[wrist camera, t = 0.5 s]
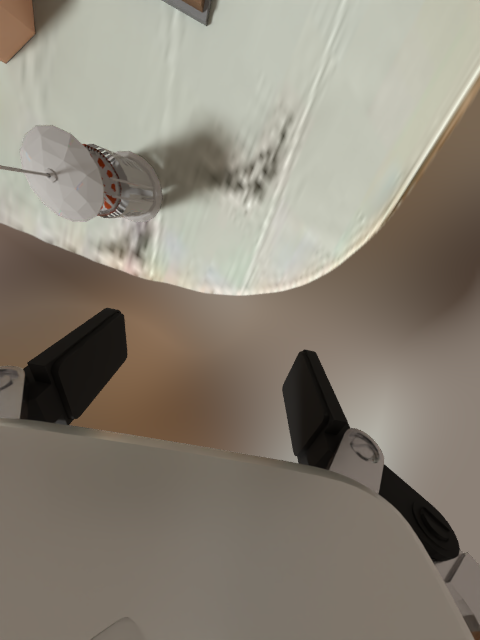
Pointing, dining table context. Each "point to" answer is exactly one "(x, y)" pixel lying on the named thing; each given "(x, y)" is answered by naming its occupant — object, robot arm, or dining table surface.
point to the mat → (192, 10)
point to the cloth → (196, 4)
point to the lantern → (87, 177)
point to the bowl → (15, 26)
